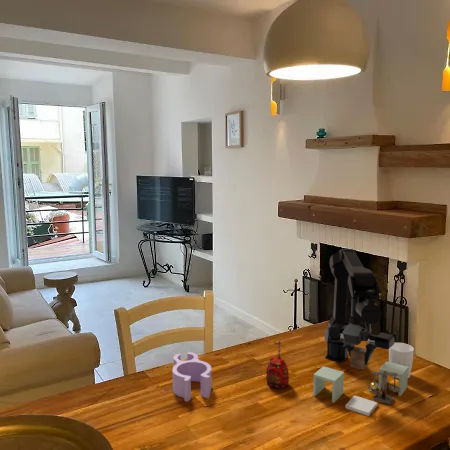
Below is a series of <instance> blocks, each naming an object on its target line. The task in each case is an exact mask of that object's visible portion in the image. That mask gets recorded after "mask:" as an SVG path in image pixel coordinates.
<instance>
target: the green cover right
mask: <svg viewBox="0 0 450 450" xmlns="http://www.w3.org/2000/svg"><path fill="white" fill-rule="evenodd" d="M383 371H386V372H390V373H397V376H398V377H399V380H398V387H399V388H400V391H399V392H398V396H399V397H401V396H403V393H404V392H405V391H406V390H407V389H408V379H409V378H408V367H407V366H403V365H399V364H395V363H391V362H389V361H387V360H386V361H385V362H384V363H383V364H382V365H381V366H380V367H379V369H378V372H383ZM388 379H389V376H387V382H388ZM382 381H383V375H378V389H379V390H380V391H382Z"/></svg>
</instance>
